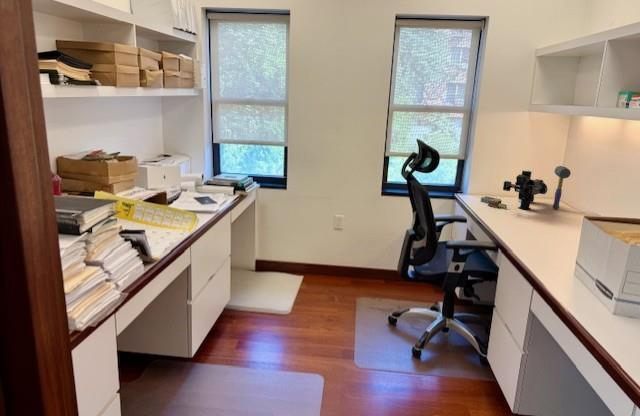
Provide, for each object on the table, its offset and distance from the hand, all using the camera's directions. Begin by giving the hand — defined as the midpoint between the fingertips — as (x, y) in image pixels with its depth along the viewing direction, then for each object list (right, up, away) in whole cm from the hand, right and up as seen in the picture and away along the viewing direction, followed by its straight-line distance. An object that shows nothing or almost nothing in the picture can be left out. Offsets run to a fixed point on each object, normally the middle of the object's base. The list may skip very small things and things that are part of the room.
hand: (512, 189), depth 277 cm
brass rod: (0, -11, +23) cm, 25 cm away
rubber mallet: (+40, -13, +24) cm, 49 cm away
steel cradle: (-1, -8, +35) cm, 36 cm away
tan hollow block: (-2, -11, +24) cm, 27 cm away
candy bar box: (+28, -8, +42) cm, 51 cm away
